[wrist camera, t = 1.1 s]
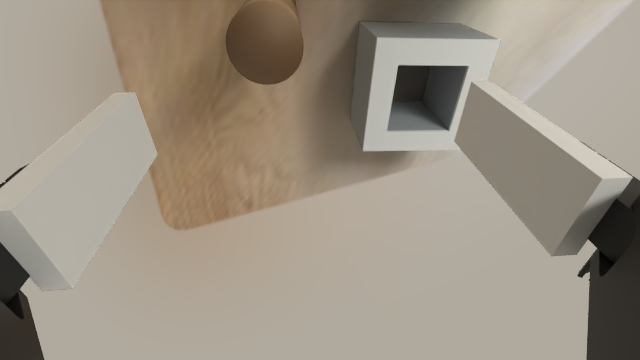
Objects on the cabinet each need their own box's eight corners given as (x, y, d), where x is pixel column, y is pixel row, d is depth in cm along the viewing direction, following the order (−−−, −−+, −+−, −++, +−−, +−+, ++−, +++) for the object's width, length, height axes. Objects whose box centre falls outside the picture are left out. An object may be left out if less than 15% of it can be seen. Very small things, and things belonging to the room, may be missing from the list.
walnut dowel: (249, -20, 27) (220, 2, 15) (295, -18, 28) (303, 4, 16) (253, 30, 30) (231, 84, 18) (296, 31, 30) (303, 84, 18)
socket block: (359, 21, 30) (377, 38, 24) (460, 23, 31) (501, 40, 25) (350, 118, 36) (362, 151, 30) (434, 118, 37) (463, 149, 31)
